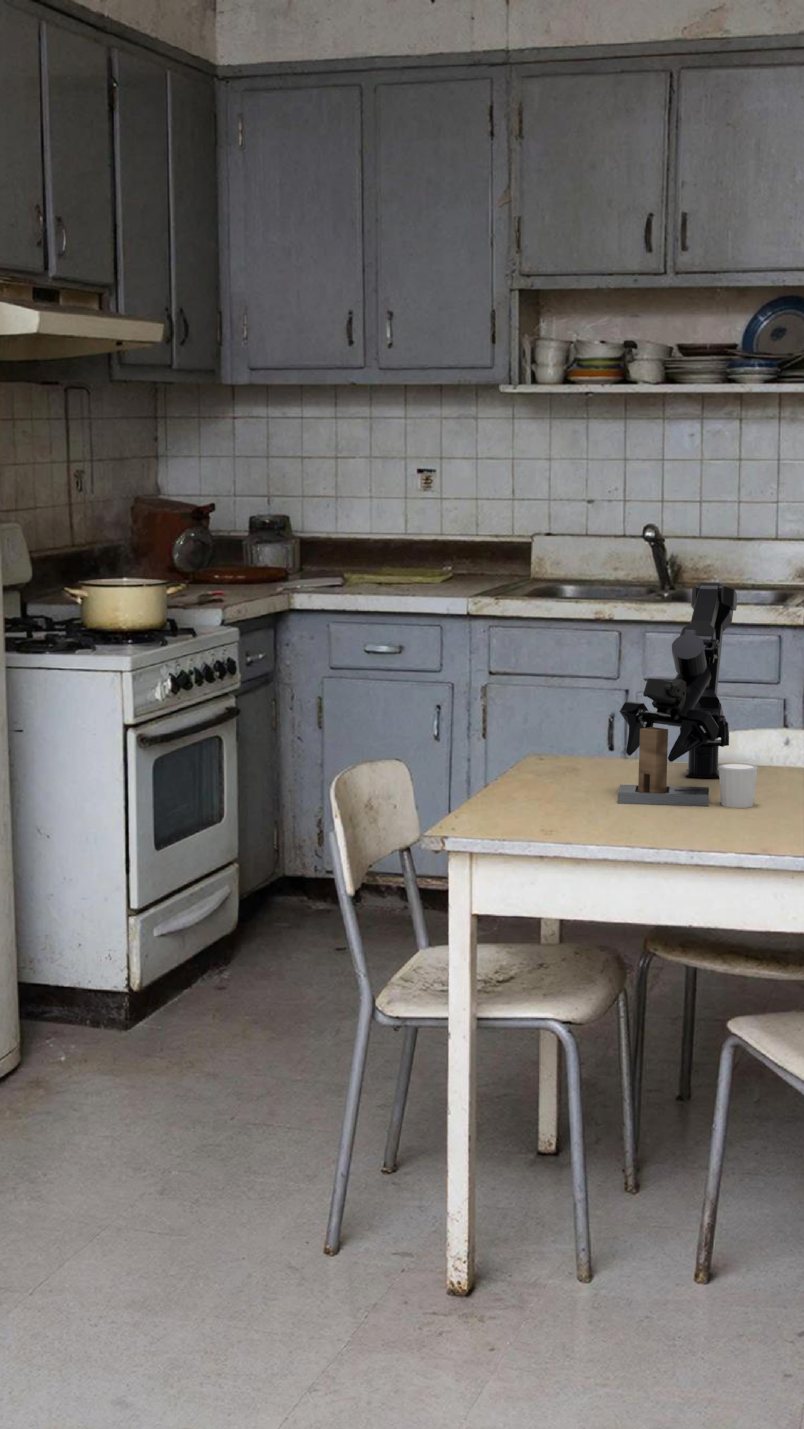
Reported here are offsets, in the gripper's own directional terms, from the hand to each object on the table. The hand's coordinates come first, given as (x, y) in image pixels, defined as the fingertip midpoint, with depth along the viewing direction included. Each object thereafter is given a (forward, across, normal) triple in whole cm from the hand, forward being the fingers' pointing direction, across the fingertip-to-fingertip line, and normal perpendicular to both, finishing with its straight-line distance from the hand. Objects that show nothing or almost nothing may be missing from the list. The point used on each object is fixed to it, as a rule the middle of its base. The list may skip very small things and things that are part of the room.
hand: (648, 757), depth 301 cm
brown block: (+5, 0, +7) cm, 8 cm away
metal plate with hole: (+4, +2, +8) cm, 9 cm away
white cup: (0, +13, +12) cm, 18 cm away
